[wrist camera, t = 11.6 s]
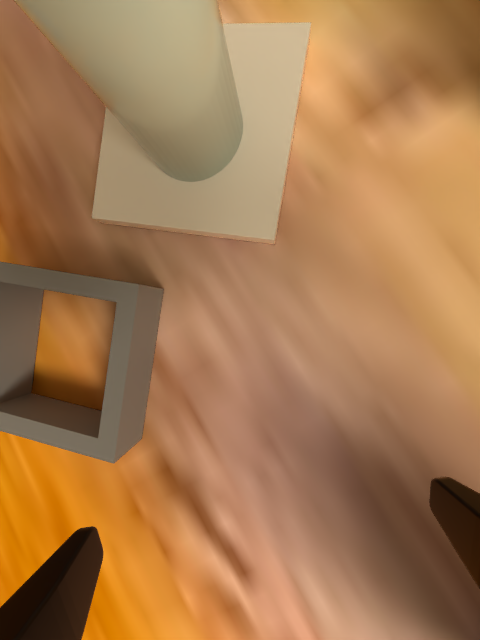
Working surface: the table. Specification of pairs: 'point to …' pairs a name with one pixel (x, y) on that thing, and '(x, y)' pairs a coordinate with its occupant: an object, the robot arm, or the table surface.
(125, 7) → the grey domed cup
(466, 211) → the table surface
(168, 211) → the plate
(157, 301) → the holder
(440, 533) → the table surface
